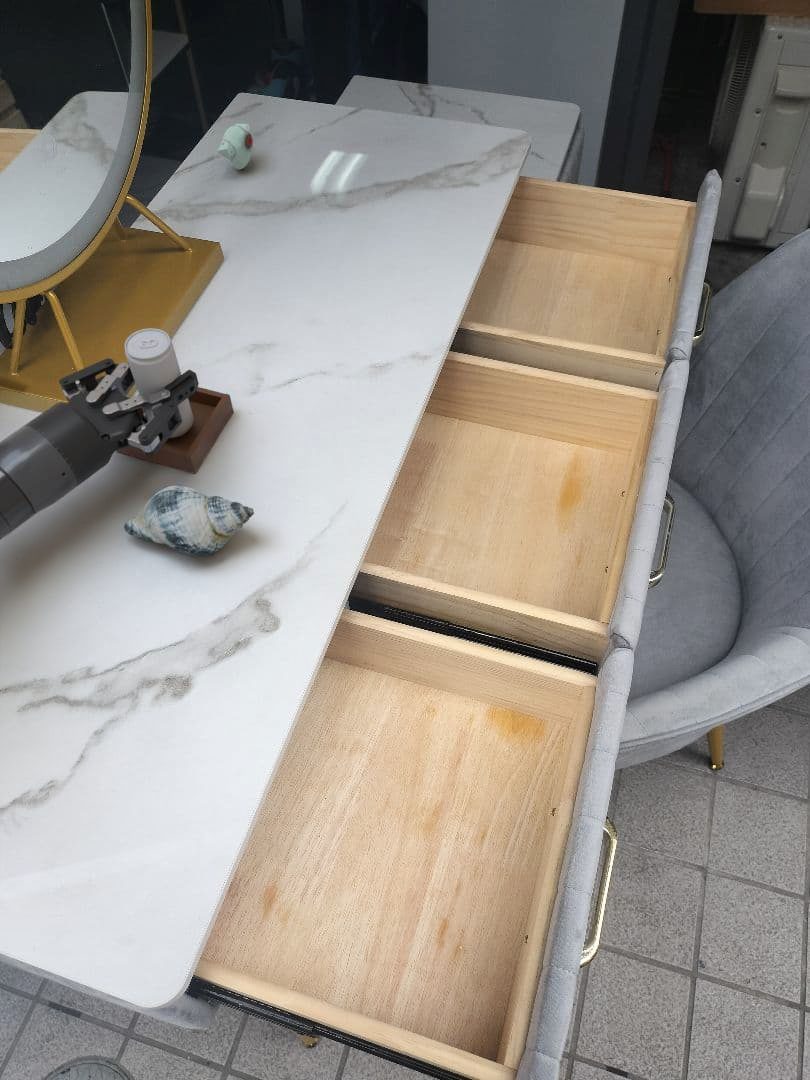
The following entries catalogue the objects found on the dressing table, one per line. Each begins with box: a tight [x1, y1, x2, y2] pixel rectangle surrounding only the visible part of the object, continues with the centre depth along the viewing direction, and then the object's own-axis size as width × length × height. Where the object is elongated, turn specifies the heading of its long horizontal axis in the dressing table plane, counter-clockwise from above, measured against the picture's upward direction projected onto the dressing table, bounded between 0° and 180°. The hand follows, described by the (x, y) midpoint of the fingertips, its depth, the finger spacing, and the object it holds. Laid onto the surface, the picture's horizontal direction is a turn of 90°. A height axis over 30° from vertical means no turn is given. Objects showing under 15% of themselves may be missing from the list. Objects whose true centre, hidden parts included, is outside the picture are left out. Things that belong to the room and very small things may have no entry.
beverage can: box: [124, 327, 194, 438], centre depth 87 cm, size 5×5×12 cm
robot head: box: [216, 122, 254, 171], centre depth 121 cm, size 8×4×7 cm, turn 159°
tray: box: [115, 386, 234, 474], centre depth 92 cm, size 10×10×3 cm
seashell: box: [123, 484, 255, 557], centre depth 83 cm, size 6×8×12 cm
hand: (177, 366), depth 88 cm, fingers closed on beverage can, 4 cm apart
